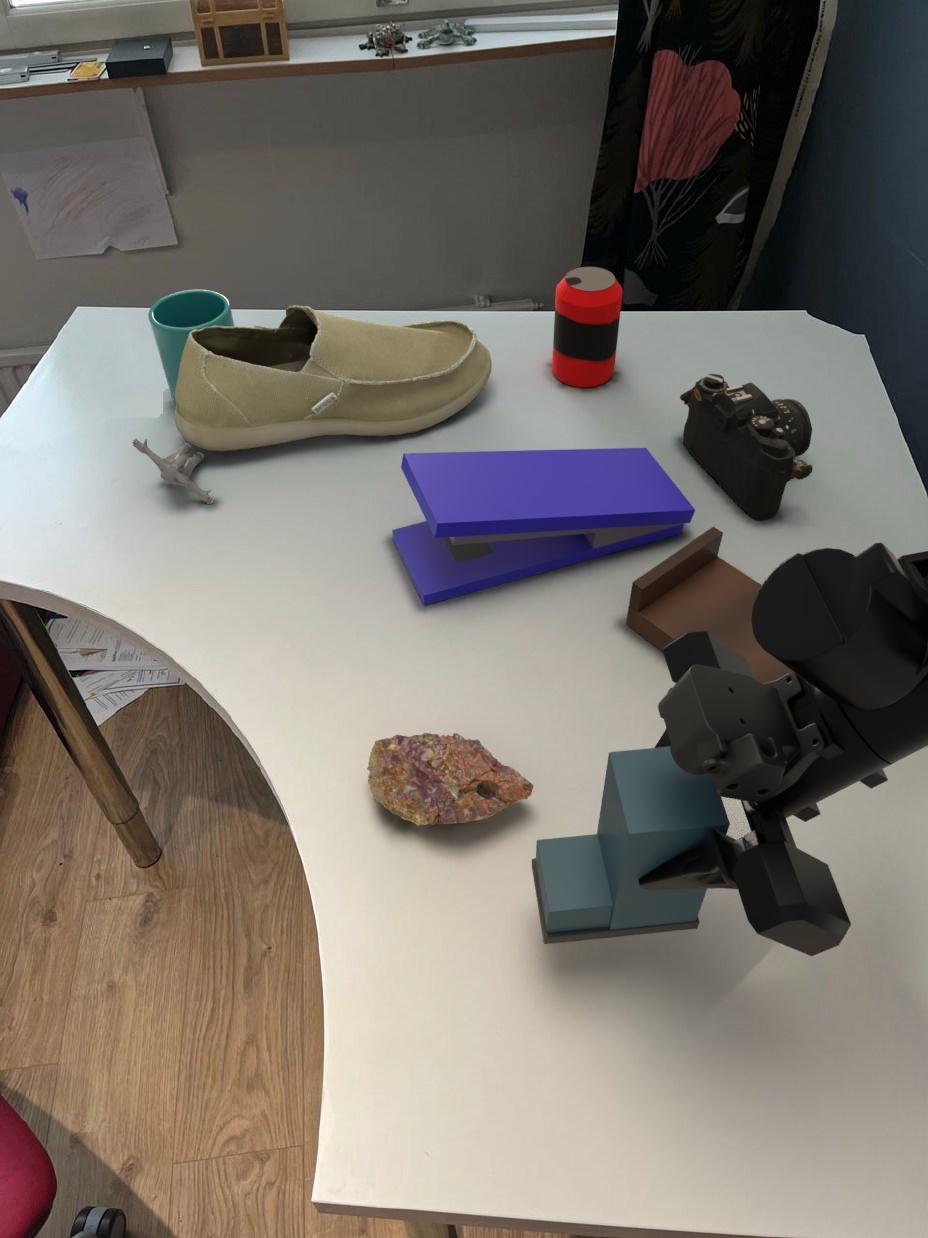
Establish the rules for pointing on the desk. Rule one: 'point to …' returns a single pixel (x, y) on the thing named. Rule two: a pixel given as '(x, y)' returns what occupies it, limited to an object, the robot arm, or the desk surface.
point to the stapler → (529, 513)
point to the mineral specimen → (441, 779)
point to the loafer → (323, 379)
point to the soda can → (586, 326)
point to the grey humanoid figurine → (177, 467)
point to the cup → (184, 324)
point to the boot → (628, 853)
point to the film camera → (747, 441)
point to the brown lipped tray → (701, 603)
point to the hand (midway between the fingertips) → (632, 841)
